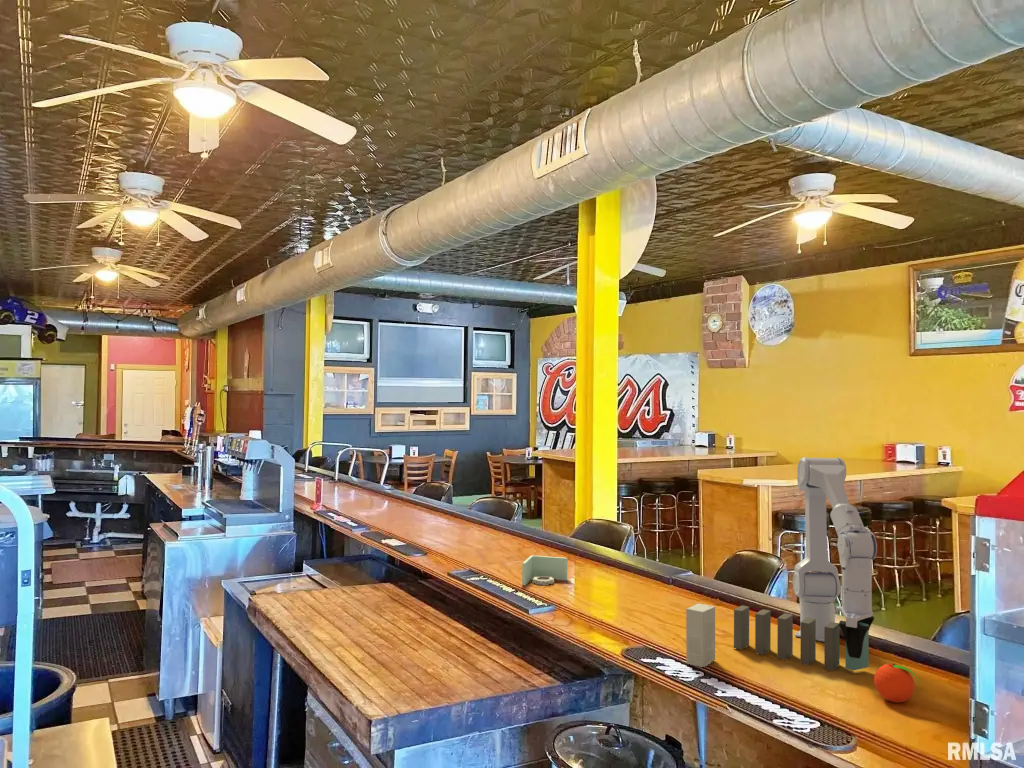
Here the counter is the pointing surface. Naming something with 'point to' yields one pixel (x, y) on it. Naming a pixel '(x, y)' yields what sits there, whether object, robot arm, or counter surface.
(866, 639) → the domino
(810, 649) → the domino
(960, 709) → the counter surface
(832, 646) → the domino
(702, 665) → the skincare box
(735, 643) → the domino
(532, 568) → the l-shaped corner panel
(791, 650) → the domino
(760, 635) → the domino
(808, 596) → the robot arm
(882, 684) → the clementine
